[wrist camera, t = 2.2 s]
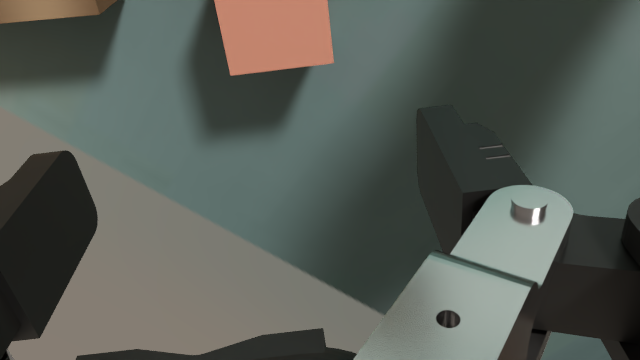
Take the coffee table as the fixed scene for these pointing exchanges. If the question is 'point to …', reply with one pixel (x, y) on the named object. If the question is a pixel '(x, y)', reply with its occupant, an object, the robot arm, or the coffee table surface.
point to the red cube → (274, 34)
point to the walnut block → (49, 9)
